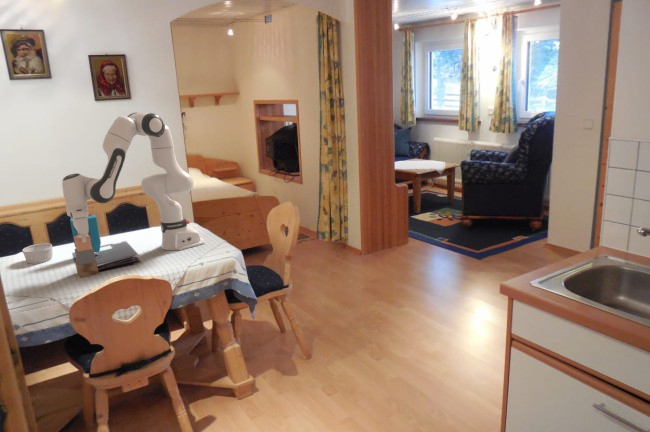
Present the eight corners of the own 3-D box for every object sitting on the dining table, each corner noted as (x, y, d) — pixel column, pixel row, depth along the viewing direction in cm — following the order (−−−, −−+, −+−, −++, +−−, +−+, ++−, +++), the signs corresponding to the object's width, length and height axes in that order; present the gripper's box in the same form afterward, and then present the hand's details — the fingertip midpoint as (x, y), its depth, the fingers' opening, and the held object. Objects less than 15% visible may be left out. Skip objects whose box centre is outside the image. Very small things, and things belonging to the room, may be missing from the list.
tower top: (93, 257, 240) (90, 245, 239) (95, 261, 235) (93, 249, 233) (76, 261, 237) (74, 248, 235) (79, 265, 231) (76, 252, 229)
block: (77, 259, 257) (70, 221, 252) (76, 256, 262) (69, 219, 256) (103, 254, 263) (96, 217, 258) (101, 252, 267) (95, 215, 262)
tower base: (95, 269, 243) (93, 257, 241) (98, 274, 236) (96, 261, 235) (77, 273, 239) (75, 260, 237) (79, 278, 232) (77, 265, 230)
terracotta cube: (90, 246, 238) (88, 233, 237) (92, 249, 233) (90, 236, 232) (76, 248, 235) (74, 236, 234) (77, 252, 230) (75, 239, 229)
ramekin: (30, 266, 250) (27, 253, 248) (21, 261, 259) (18, 248, 257) (58, 259, 259) (56, 246, 258) (48, 254, 268) (46, 241, 266)
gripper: (66, 207, 236) (71, 235, 240) (73, 216, 220) (78, 246, 223) (81, 205, 240) (86, 233, 243) (88, 213, 223) (94, 243, 227)
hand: (82, 239), depth 233 cm, fingers open, 8 cm apart
